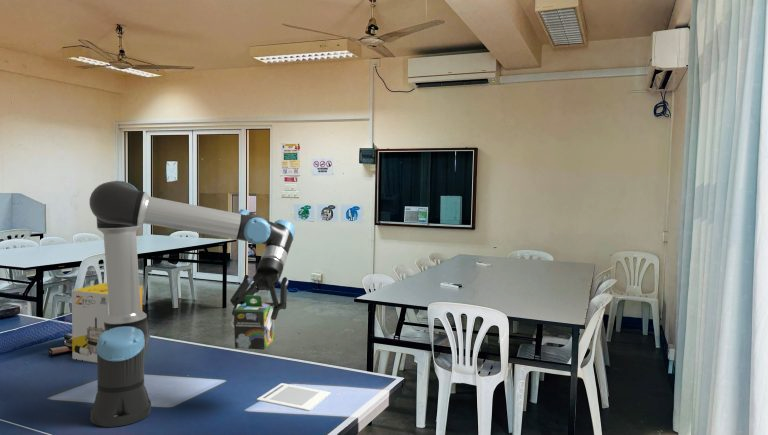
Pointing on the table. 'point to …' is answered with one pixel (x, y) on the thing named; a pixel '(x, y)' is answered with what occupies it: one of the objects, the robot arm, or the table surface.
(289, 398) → the white tray
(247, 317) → the chalk box
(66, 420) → the table surface
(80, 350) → the packaging box
